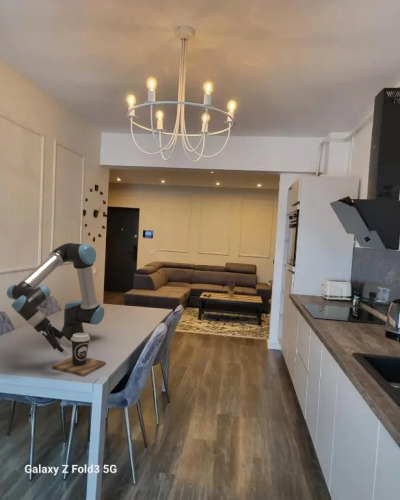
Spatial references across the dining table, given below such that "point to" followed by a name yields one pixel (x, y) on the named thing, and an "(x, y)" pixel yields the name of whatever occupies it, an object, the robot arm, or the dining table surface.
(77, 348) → the coffee cup
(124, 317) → the dining table surface
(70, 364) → the wooden board
